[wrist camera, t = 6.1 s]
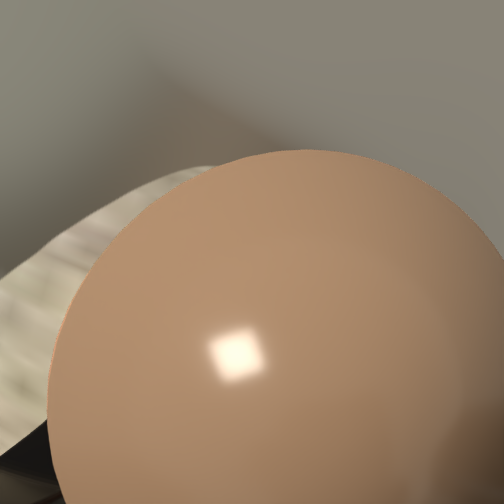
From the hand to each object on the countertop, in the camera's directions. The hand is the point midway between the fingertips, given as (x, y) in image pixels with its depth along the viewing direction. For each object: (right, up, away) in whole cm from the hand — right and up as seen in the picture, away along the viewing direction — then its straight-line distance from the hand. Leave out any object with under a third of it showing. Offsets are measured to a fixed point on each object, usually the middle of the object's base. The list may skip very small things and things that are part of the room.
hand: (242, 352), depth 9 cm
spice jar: (-1, -4, +5) cm, 7 cm away
